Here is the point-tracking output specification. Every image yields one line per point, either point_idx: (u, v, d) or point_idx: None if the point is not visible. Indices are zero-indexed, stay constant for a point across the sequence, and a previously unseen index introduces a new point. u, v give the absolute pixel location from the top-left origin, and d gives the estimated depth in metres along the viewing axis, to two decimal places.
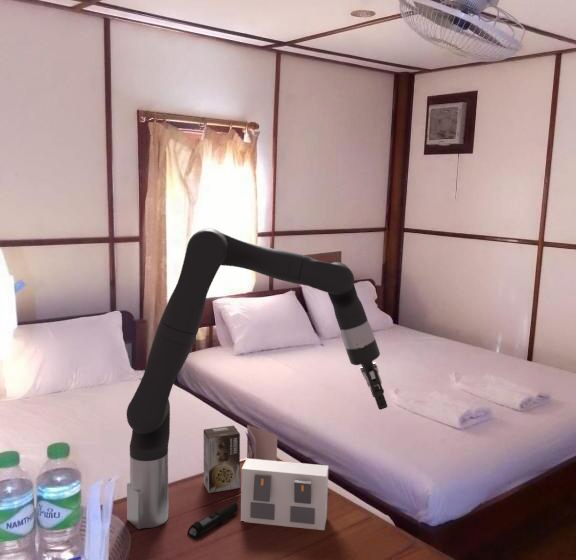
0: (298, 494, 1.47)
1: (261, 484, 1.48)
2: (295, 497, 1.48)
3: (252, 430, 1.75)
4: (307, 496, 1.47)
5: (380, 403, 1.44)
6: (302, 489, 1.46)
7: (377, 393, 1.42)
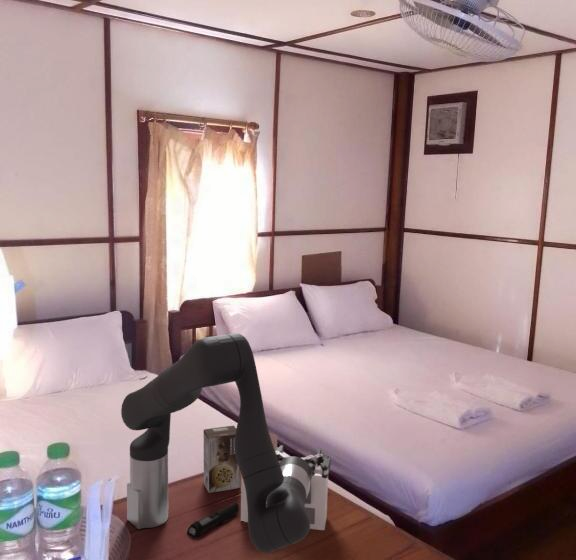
0: None
1: None
2: None
3: None
4: (307, 496, 1.47)
5: None
6: None
7: None
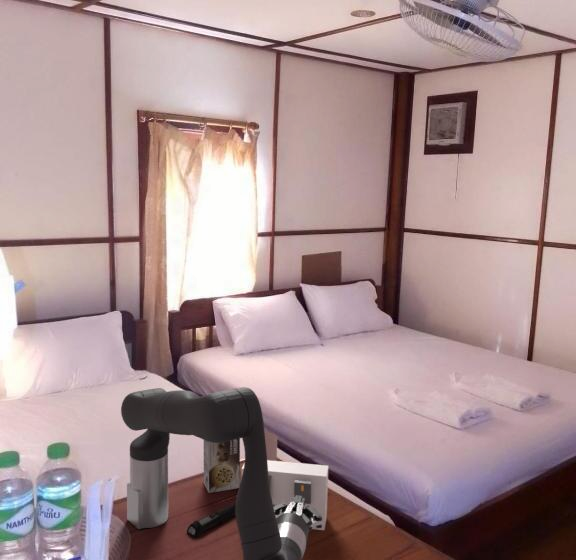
0: (298, 494, 1.47)
1: None
2: None
3: None
4: (307, 496, 1.47)
5: None
6: (302, 489, 1.46)
7: None
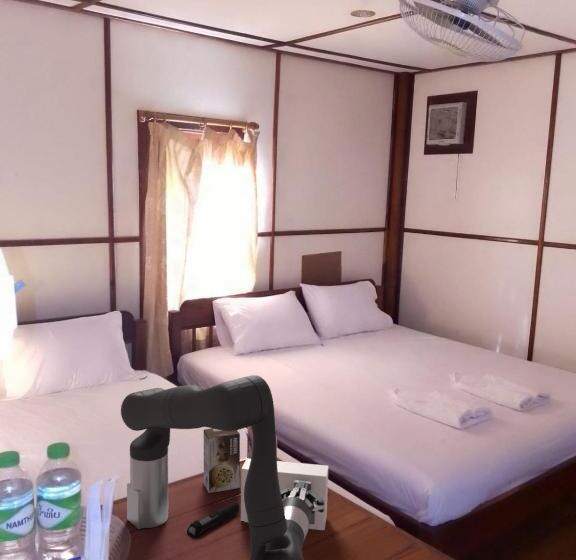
0: None
1: None
2: None
3: None
4: None
5: None
6: None
7: None
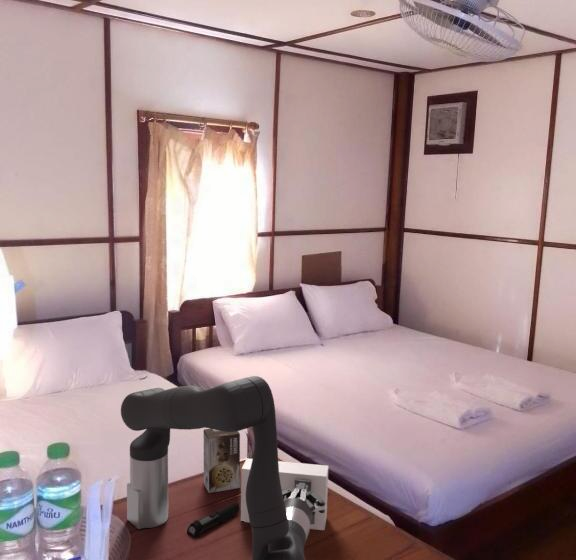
0: None
1: None
2: None
3: (252, 430, 1.75)
4: None
5: None
6: None
7: None
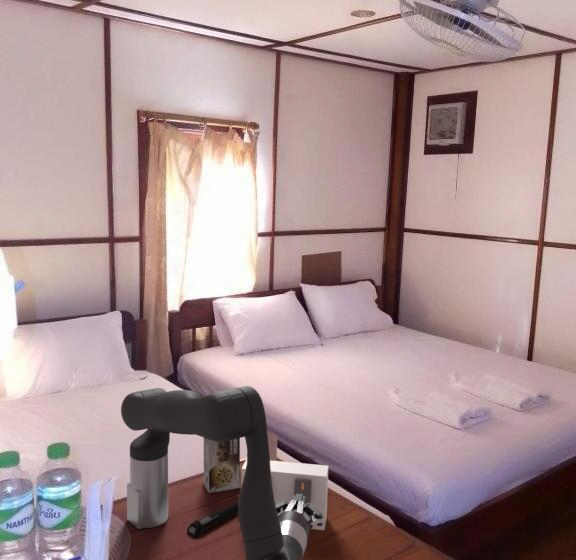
0: None
1: None
2: None
3: None
4: (307, 496, 1.47)
5: None
6: (302, 487, 1.46)
7: None
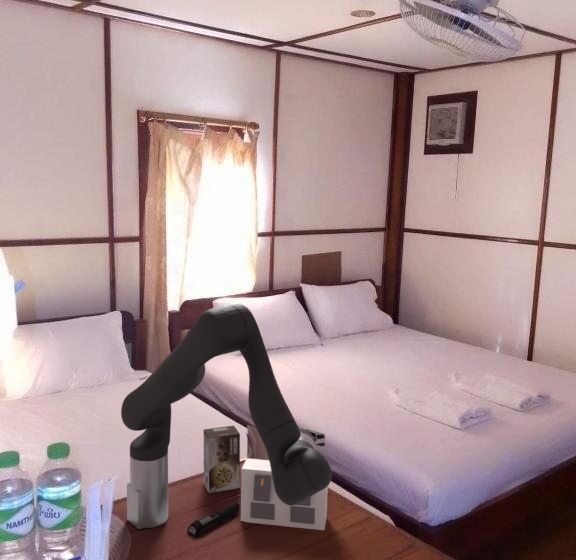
0: None
1: (261, 484, 1.48)
2: None
3: (252, 430, 1.75)
4: None
5: None
6: None
7: None
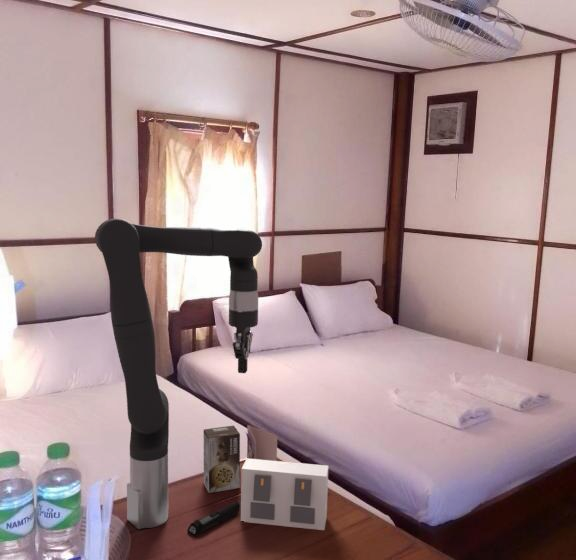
0: (298, 494, 1.47)
1: (261, 484, 1.48)
2: (295, 498, 1.47)
3: (252, 430, 1.75)
4: (307, 496, 1.46)
5: (240, 367, 1.57)
6: (302, 486, 1.47)
7: (238, 356, 1.55)
